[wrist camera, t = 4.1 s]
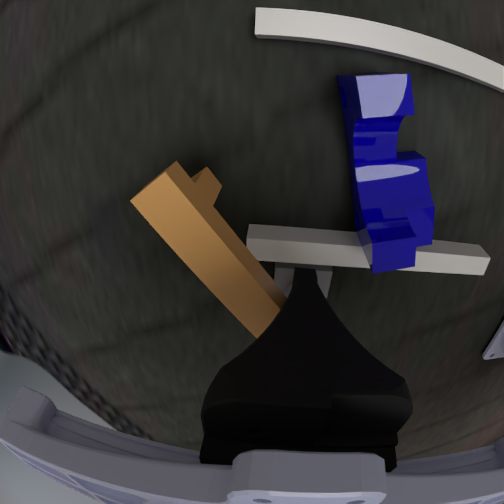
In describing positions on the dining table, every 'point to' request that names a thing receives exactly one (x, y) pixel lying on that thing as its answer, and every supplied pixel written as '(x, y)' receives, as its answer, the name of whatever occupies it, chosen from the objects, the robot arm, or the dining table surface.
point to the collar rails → (344, 242)
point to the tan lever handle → (210, 244)
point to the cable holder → (385, 170)
